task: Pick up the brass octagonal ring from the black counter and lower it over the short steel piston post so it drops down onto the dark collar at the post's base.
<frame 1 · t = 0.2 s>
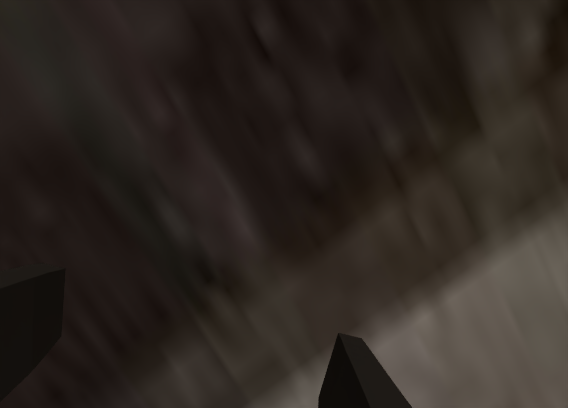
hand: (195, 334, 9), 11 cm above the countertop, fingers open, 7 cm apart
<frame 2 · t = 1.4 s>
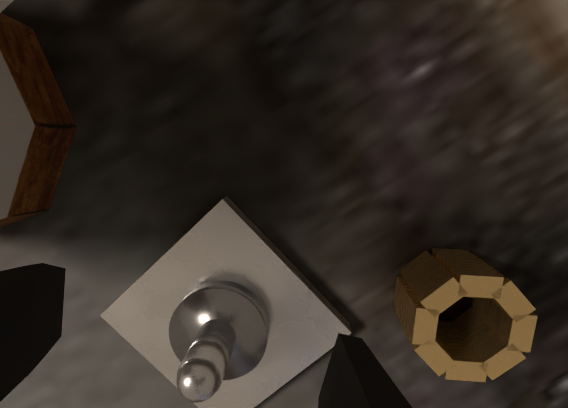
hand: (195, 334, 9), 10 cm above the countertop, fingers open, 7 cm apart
brass ring: (443, 294, 19), on the countertop
piston stand: (227, 314, 20), on the countertop
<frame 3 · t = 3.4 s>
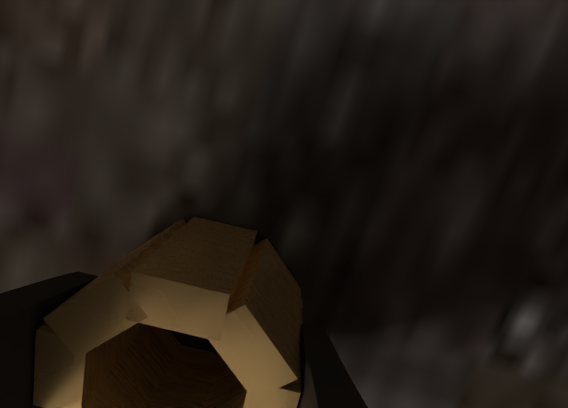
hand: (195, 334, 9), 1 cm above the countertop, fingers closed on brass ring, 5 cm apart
brass ring: (210, 304, 10), on the countertop, touching gripper
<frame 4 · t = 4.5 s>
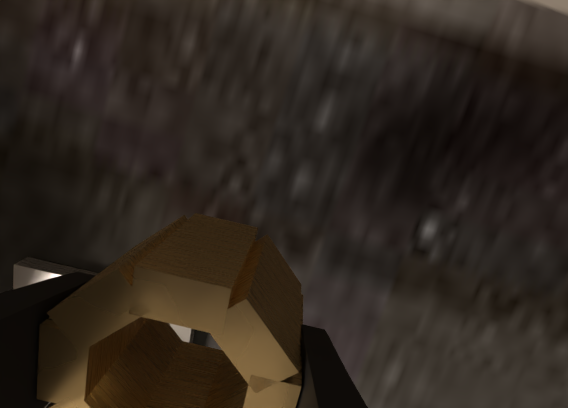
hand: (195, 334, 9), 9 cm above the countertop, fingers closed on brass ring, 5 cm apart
brass ring: (211, 301, 10), point 8 cm above the countertop, touching gripper
piston stand: (106, 351, 20), on the countertop
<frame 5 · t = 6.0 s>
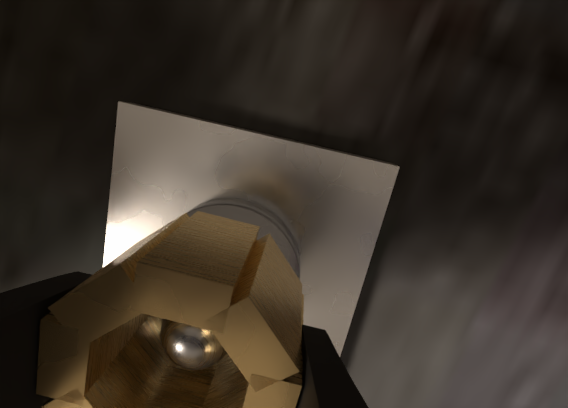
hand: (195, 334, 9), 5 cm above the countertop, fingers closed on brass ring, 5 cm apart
brass ring: (212, 299, 10), point 4 cm above the countertop, touching gripper
piston stand: (237, 253, 14), on the countertop
when the fingers open (5 cm above the countertop, at t = 6.6 s): brass ring drops 1 cm, resting on piston stand.
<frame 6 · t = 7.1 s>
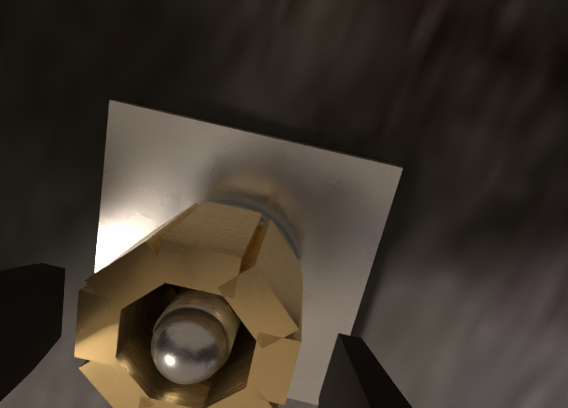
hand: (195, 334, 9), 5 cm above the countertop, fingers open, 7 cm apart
brass ring: (220, 280, 11), point 2 cm above the countertop, touching piston stand
piston stand: (234, 257, 13), on the countertop
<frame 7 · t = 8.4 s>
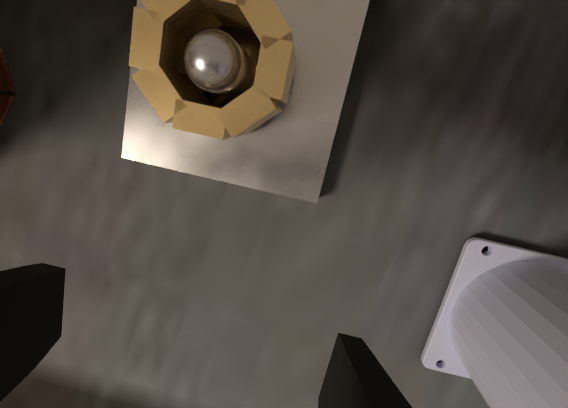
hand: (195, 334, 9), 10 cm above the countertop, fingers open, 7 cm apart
brass ring: (231, 69, 14), point 2 cm above the countertop, touching piston stand
piston stand: (241, 78, 17), on the countertop
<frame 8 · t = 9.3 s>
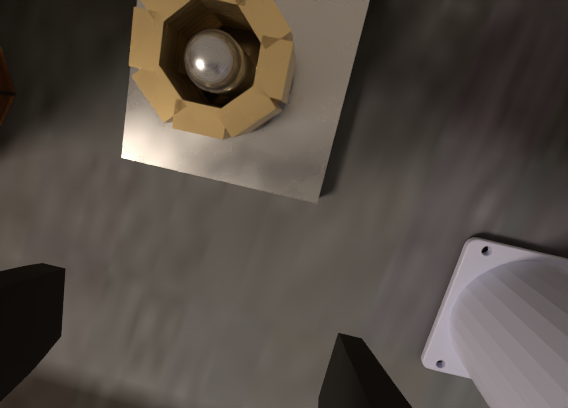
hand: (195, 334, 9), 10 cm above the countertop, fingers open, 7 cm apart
brass ring: (231, 69, 14), point 2 cm above the countertop, touching piston stand
piston stand: (241, 78, 17), on the countertop
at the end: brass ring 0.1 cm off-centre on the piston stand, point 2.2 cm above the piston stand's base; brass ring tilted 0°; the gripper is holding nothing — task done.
